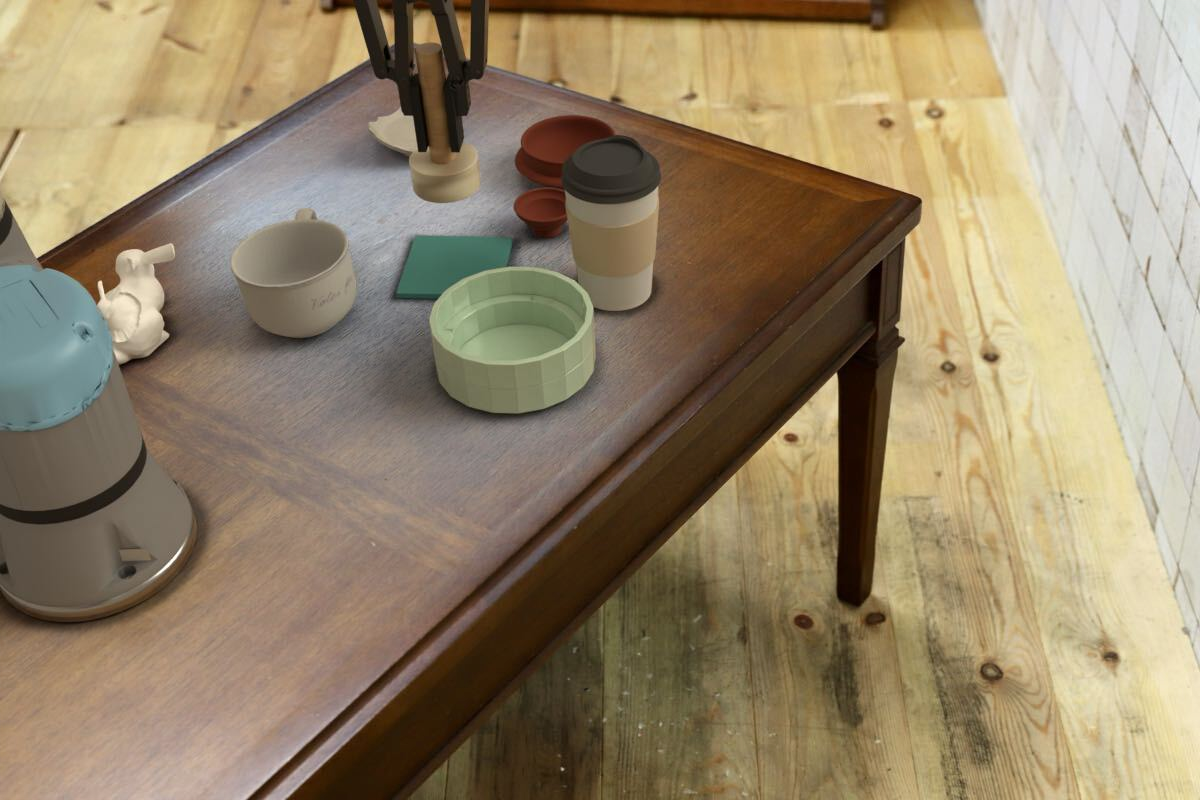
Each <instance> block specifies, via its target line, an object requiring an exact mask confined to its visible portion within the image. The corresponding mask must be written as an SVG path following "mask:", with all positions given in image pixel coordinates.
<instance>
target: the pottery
mask: <svg viewBox="0 0 1200 800" xmlns="http://www.w3.org/2000/svg"><path fill="white" fill-rule="evenodd" d="M613 135H617V134H616V132H615V130H614V129H613V127H612V126H611V125H610V124H608V123H607V122H605V121H603V120H601V119H599V118H596V117H591V116H588V115H579V114H567V115H566V114H565V115H558V116H553V117H548V118H545V119H542V120H539V121H538V122H535V123H534V124H533V123H532V125H530V126H529V127H527V129H525V131H524V132H523V134H522V135H521V138H520V147H519V149H518V150H517V151H516V153H515V157H514V165H515V168H516V170H517V171H518V173H519V174H520V175H521V176H523V177H524V178H526V179H527V180H528V181H531V182H534V183H535V184H539V185H542V186H546V187H538V188H534V189H530V190H527V191H525V192H523V193H522V194H520V195H519V196H518V197H516V199H515V200H514V203H513V211H514V213H515V215H516V217H518V219H520V220H521V221H522V222H524V224H525V225H526V226H528V227H529V228H531V229H532V233H533V234H534V235H535V236H537V237H538V238H545V239H546V238H547V239H548V238H553V237H556V236H558V235H559V234H560V233H562V226H563V225H565V224H566V223H568V219H567V213H566V206H565V201H566V194H565V189H564V188H563V186H562V183H561V176H562V167H563V164H564V162H565V161H566V159H567V158H568V157H569V156H570V155H572V154H573V153H574V152H575V151H576V150H577V149H578V148H579V147H580V146H582V145H584V144H586V143H588V142H591V141H595V140H601V139H606V138H608V137H610V136H613Z"/></svg>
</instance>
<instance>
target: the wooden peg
mask: <svg viewBox="0 0 1200 800" xmlns="http://www.w3.org/2000/svg"><path fill="white" fill-rule="evenodd" d="M414 56H415V60H416V68H417V73H418V76H419V83H420V90H421V97H422V104H423V111H424V118H425V125H426V132H427V139H428V149H427V152H418V148H417V149H416V150H415V151H414V152H413V153H412V154H411V155H410V157H409V158H408V164H409V171H410V178H411V184H412V190H413V193H414V194H415V195H416V196H417V197H418V198H419V199H421V200H423V201H425V202H429V203H434V204H450V203H451V204H452V203H456V202H460V201H462V200H463V201H464V200H465V199H467V198H470V197H471V196H473V195H474V194H475V193H476V192H477V191H478V190H479V188H480V186H481V183H482V180H481V170H480V164H479V163H480V162H479V155H478V154H479V153H478V152H477V150H476V148H475V147H474V146H473V145H471V144H470V143H469V142H466V141H463V143H462V146H461V149H460V153H459V152H451V145H450V137H449V130H448V122H447V114H446V106H445V98H444V90H443V87H444V84H445V82H446V79H447V74H446V67H445V57H444V53H443V49H442V45H441V43H438V42H431V41H429V42H423V43H420V44H418V45H417V46H416V47H415V48H414Z"/></svg>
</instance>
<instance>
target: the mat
mask: <svg viewBox="0 0 1200 800" xmlns="http://www.w3.org/2000/svg"><path fill="white" fill-rule="evenodd" d="M513 243H514V238H513V236H475V235H474V236H473V235H471V236H470V235H418V234H417V235H414V238H413V241H412V244H411V247H410V250H409V253H408V256H407V259H406V261H405V265H404V268H403V271H402V274H401V276H400V280H399V283H398V286H397V289H396V292H395V296H396V298H397V299H430V300H431V299H433V300H438V298H439V297H440V296H441V295H442V294H443V293H444V291H445V290H446V289H448V288H450V287H451V286H453V285H454V284H456V283H457V282H459V281H460V280H462V279H464V278H466V277H469V276H472V275H475V274H477V273H480V272H483V271H486V270H492V269H498V268H504V267H508V264H509V260H510V256H511V252H512V247H513Z"/></svg>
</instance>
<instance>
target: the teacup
mask: <svg viewBox="0 0 1200 800" xmlns="http://www.w3.org/2000/svg"><path fill="white" fill-rule="evenodd" d="M294 216H295V217H294V219H289V220H285V221H280V222H276V223H273V224H269V225H267V226H264V227H262V228H260V229H258V230H256V231H254V232H253V233H252V234H250V235H248V236H246V237H245V239H243V240H242V241H241V242H240V243H239V244H238V245H237V246H236V247H235V248H234V250H233V251H232V253H231V256H230V259H229V266H230V271H231V273H232V274H233V276H234V277H235V280H236V283H237V287H238V289H239V292H240V295H241V297H242V301H243V303H244V306H245V307H246V310H247V312H248V314H249V316H250V317H251V319H252V320H253V321H254V322H255V324H257V325H258V326H259V327H260V328H261V329H262V330H265V331H266V332H268V333H271V334H275V335H277V336H282V337H286V338H293V339H304V338H311V337H315V336H318V335H321V334H324V333H325V332H328V331H329V330H331V329H332V328H334V327H335V326H336V325H337V324H338V323H339V322H340V321H341V320H342V319H344V317H345V316H347V314H348V313H349V312H350V310H351V309H352V307H353V305H354V303H355V300H356V297H357V289H358V288H357V278H356V273H355V268H354V262H353V258H352V255H351V251H350V241H349V238H348V236H347V233H346V232H345V230H344V229H342V228H341V227H340V226H338V225H337V224H335V223H333V222H330V221H326V220H321V219H318V216H317V213H316V212H315V210H314V209H313V208H310V207H303V208H299V209H298V210H297V211H296V213H295V215H294Z"/></svg>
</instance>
